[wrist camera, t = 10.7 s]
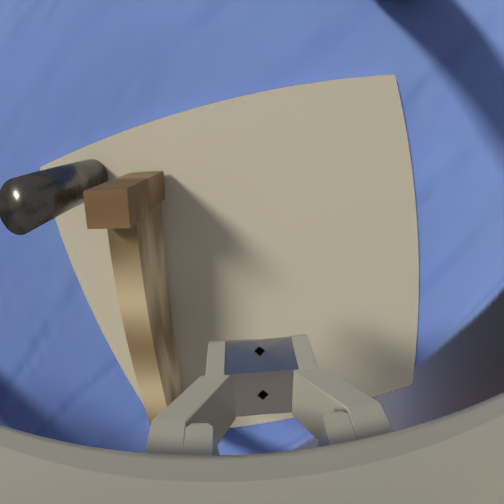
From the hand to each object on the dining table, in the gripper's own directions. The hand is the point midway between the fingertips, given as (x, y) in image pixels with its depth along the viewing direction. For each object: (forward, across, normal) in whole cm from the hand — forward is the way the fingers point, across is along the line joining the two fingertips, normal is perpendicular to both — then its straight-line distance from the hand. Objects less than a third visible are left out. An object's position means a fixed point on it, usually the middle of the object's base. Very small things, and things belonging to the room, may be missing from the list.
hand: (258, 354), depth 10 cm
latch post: (+11, +9, -5) cm, 15 cm away
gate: (+10, +6, +4) cm, 12 cm away
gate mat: (+10, 0, +4) cm, 11 cm away
